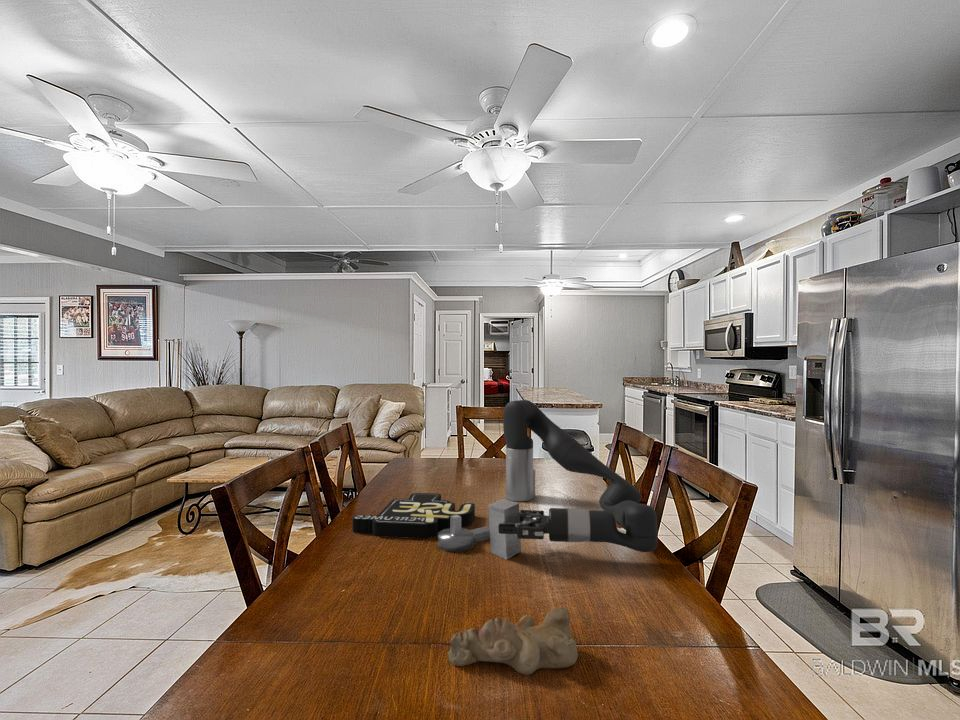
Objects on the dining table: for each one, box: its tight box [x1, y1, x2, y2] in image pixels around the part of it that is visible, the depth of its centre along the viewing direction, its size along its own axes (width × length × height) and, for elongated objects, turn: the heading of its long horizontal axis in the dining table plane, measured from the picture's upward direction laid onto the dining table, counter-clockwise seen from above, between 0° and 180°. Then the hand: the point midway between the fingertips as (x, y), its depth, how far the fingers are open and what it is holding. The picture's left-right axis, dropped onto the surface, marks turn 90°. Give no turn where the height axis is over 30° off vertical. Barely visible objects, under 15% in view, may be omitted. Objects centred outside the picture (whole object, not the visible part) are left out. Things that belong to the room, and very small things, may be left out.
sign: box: [351, 492, 476, 539], centre depth 142 cm, size 32×4×30 cm
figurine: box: [446, 607, 578, 676], centre depth 77 cm, size 12×8×20 cm
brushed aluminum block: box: [487, 498, 522, 561], centre depth 116 cm, size 5×5×12 cm
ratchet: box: [437, 515, 490, 553], centre depth 128 cm, size 30×9×7 cm, turn 126°
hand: (500, 522), depth 117 cm, fingers closed on brushed aluminum block, 7 cm apart
